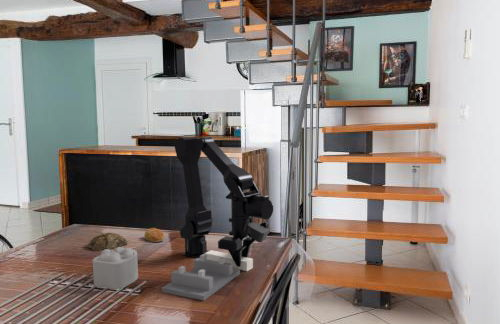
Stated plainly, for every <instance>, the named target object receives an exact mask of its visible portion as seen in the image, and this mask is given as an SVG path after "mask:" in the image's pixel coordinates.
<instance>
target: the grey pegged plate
mask: <svg viewBox="0 0 500 324" xmlns="http://www.w3.org/2000/svg"><path fill="white" fill-rule="evenodd" d="M186 269H187V268H186V266H183V265H181V266H179V267H178V270H177V269H176V270H173V271H172V272H170V278H171V281H170V282H169V283H167V284H166V285H164V286H162V287H161V292H162V293H165V294H171V295H176V296H180V297H184V298H189V299H195V300H200V301H204V302H205V300H207V299H208V298H210V296H211V297H212V295H213V294H215V293H216V292H217V291H219V290H220V289H222V288H223V287H225V286H226V285H227V284H228V283H230V282H231V281H232V280H233V279H235V278H236V277H238V276H240V275H241V270H239V269H235V268H233V264H231V263H225V257H221V258H219V261H213V260H207V255H206V254H202V255H201V256H200V257H198V258H197V257H195V258H194V259H193V269H191V270H190V271H186Z"/></svg>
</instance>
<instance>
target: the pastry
mask: <svg viewBox="0 0 500 324" xmlns="http://www.w3.org/2000/svg"><path fill="white" fill-rule="evenodd" d="M144 239H145V240H146V241H148V242H151V243H159V242H163V241H164V240H165V234H164V231H162V230H161V229H158V228H156V227H150V228H149V229H146V231H144Z"/></svg>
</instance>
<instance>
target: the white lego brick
mask: <svg viewBox="0 0 500 324" xmlns="http://www.w3.org/2000/svg"><path fill="white" fill-rule="evenodd" d="M100 252H101V253H100V254H99V255H97V256H96V257H94V258H92V275H93V286H94V287H95V286H96V287H95V288H103V287H104V288H105V289H109V290H119V289H122V288H125V287H127V286H129V285H131V284H132V283H134V282H136V281H137V280H138V279H139V267H138V266H139V265H138V252H137V250H135V249H133V248H131V247H125V248H124V247H118V248H116V249H113V250H109V249H105V250H103V251H100Z"/></svg>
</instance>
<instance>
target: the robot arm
mask: <svg viewBox="0 0 500 324" xmlns="http://www.w3.org/2000/svg"><path fill="white" fill-rule="evenodd" d="M174 151H175V155H176V157H177V159H178V160H179V162H180V163H181V165H182V167H183V169H182V170H183V175H184V176H183V177H184V182H185V189H186V191H185V192H186V195H187V204H188V209H187V212H186V214H185V225H183V227H182V228H181V229H180V230H179V235H180V238H181V239H184V252H182V256H187V257H193V258H200V256H201V255H202V254H205V253H206V252H208V251H209V250H208V249H207V247H208V245H207V240H206V236H208V235H209V233H210V230H211V227H213V226H212V225H213V222H214V221H213V217H212V210H211V209H207V208H206V206H205V203H204V199H203V198H204V197H203V192H202V191H203V190H202V184H201V182H202V181H201V175H200V171H199V160H200V159H201V154H202V153H203V154H204V155H205V156H206V158H207V159H208V160H209V161H210V163H212V164H213V166H215V168H216V169H217V170H218V172H219V173H220V174H221V175H222V178H223V179H222V180H223V183H224V184H225V186H226V188H227V189H228V191H229V193H227V195H226V196H225V199H226V200H231V201H230V203H231V204H230V205H231V206H230V207H231V208H230V209H231V213H230V214H231V217H229V218H228V223H231V230H230V231H228V235H226V236H224V237H221V238H220V239H219V240H218V241H217V248H218V250H226V251H228V252H229V253H228V254H231V256H232V258H233V260H234V262H235V264H236V266H237V267H240V265H241V257H247V258H249V254H250V250H251V247H252V245H253V243H255V242H258V243H263V241H265V240H266V239H267V237H268V234H269V233H271V231H270V225H269V223H268V222H266V221H263V222H261V223H259V222H258V223H257V222H255V221H254V220H255V219H256V218H257V219H260V220H261V219H262V220H269V219H270V218H271V217H272V215H273V213H274V205H273V203H272V201H271V200H270V196H269V195H265V194H264V195H261V192H260V190H259V188H258V187H257V184H256V183H255V182H254V177H253V176H252V174H251V173H249V172H248V171H247V170H245V168H243V167H240V166H238V165H236V164H235V163H234V162H233V161H232V160H231V158H230V157H228V155H227V154H226V153H225V152H224V151H223V149H221V147H220V146H218V144H217V143H216V142H215V140H214V138H213V137H210V136H202V137H199V138H197V136H186V137H185V136H184V137H179V138H177V139H176V141H175V142H174ZM254 218H255V219H254Z"/></svg>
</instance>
